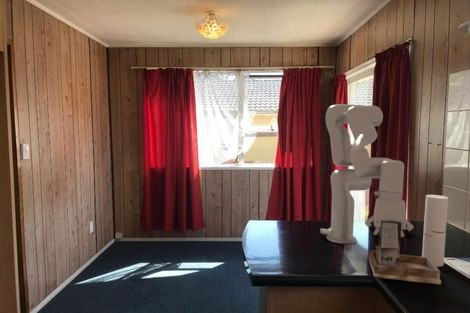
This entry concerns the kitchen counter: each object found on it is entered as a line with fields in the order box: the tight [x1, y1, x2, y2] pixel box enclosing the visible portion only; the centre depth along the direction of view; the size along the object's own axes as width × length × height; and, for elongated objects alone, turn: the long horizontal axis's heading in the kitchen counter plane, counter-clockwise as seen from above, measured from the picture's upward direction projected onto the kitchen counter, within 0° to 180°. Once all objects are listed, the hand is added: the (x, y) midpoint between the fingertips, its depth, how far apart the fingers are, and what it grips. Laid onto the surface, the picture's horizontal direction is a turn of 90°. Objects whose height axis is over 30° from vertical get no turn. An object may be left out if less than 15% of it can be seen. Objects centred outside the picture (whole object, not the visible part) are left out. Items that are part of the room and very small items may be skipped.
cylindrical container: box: [421, 194, 449, 268], centre depth 131 cm, size 7×7×25 cm
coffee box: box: [374, 221, 402, 268], centre depth 124 cm, size 9×6×16 cm
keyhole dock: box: [368, 249, 442, 285], centre depth 124 cm, size 20×16×4 cm
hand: (387, 245), depth 124 cm, fingers closed on coffee box, 6 cm apart
